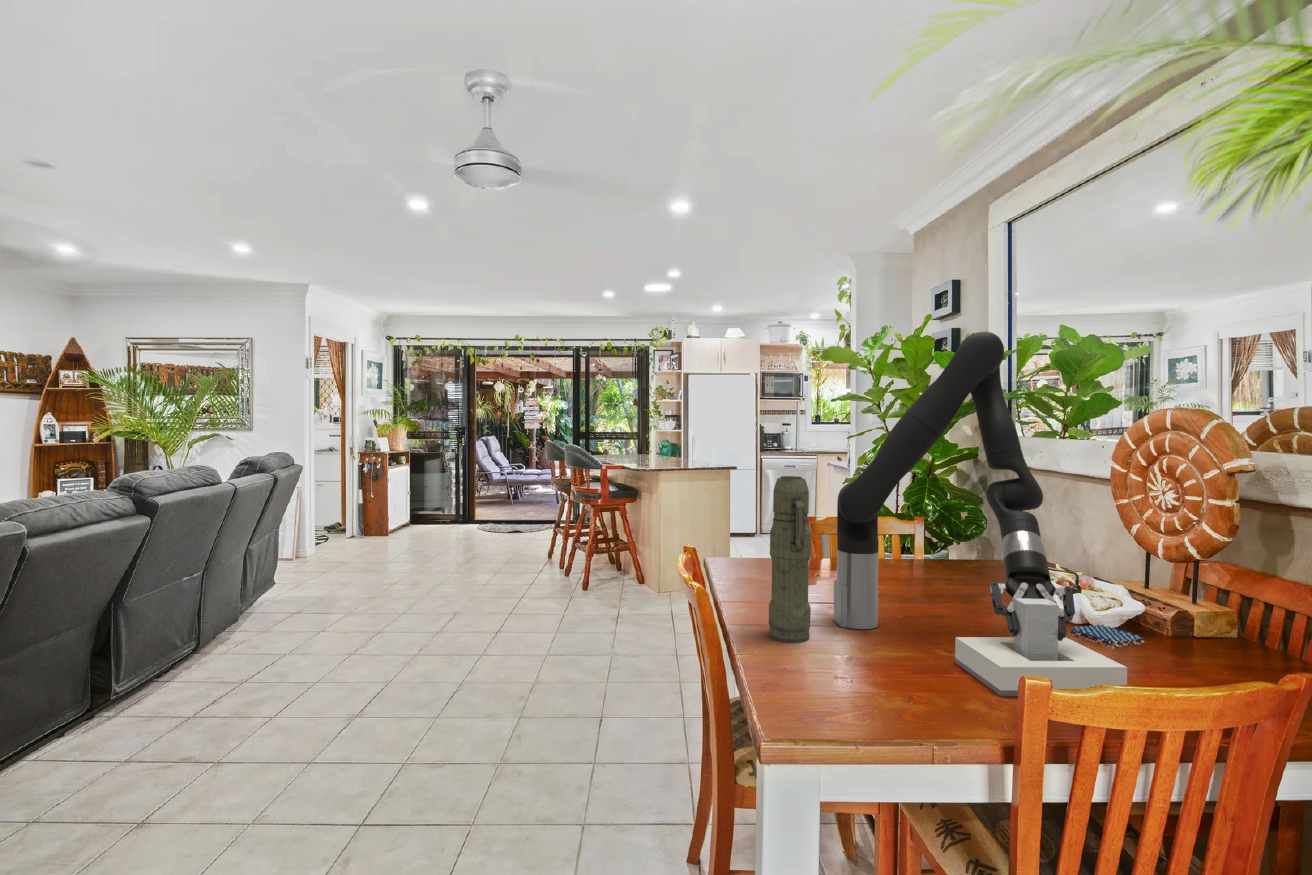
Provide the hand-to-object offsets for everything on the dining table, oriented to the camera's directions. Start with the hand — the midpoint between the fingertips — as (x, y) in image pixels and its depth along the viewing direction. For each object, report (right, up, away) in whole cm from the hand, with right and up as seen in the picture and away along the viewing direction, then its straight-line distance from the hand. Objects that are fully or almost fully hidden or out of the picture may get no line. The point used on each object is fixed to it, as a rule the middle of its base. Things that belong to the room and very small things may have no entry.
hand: (1037, 636), depth 118 cm
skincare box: (0, -6, +2) cm, 6 cm away
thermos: (-40, -8, +24) cm, 48 cm away
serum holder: (0, -8, +1) cm, 8 cm away
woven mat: (+30, -9, +25) cm, 40 cm away
